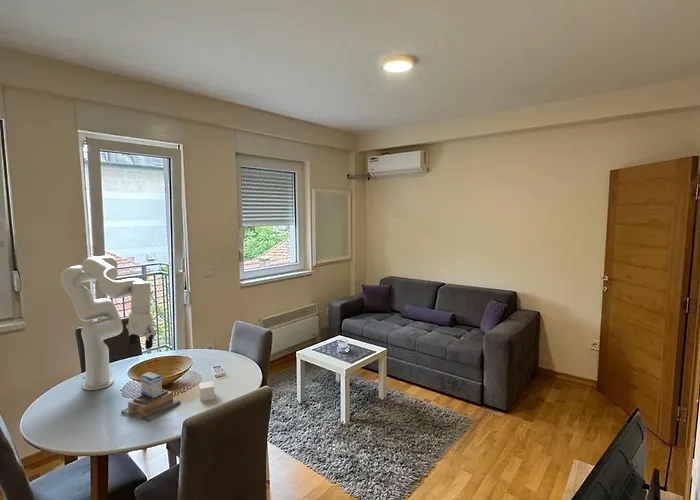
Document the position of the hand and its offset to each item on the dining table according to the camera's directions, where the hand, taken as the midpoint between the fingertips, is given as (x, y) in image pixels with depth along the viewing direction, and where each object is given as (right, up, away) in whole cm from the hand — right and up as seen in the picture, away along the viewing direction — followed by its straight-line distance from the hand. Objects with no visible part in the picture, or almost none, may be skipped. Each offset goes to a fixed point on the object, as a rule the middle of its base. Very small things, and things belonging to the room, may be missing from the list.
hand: (141, 345), depth 169 cm
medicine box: (+8, -20, -6) cm, 22 cm away
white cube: (+28, -25, +5) cm, 38 cm away
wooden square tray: (+8, -26, -6) cm, 28 cm away
